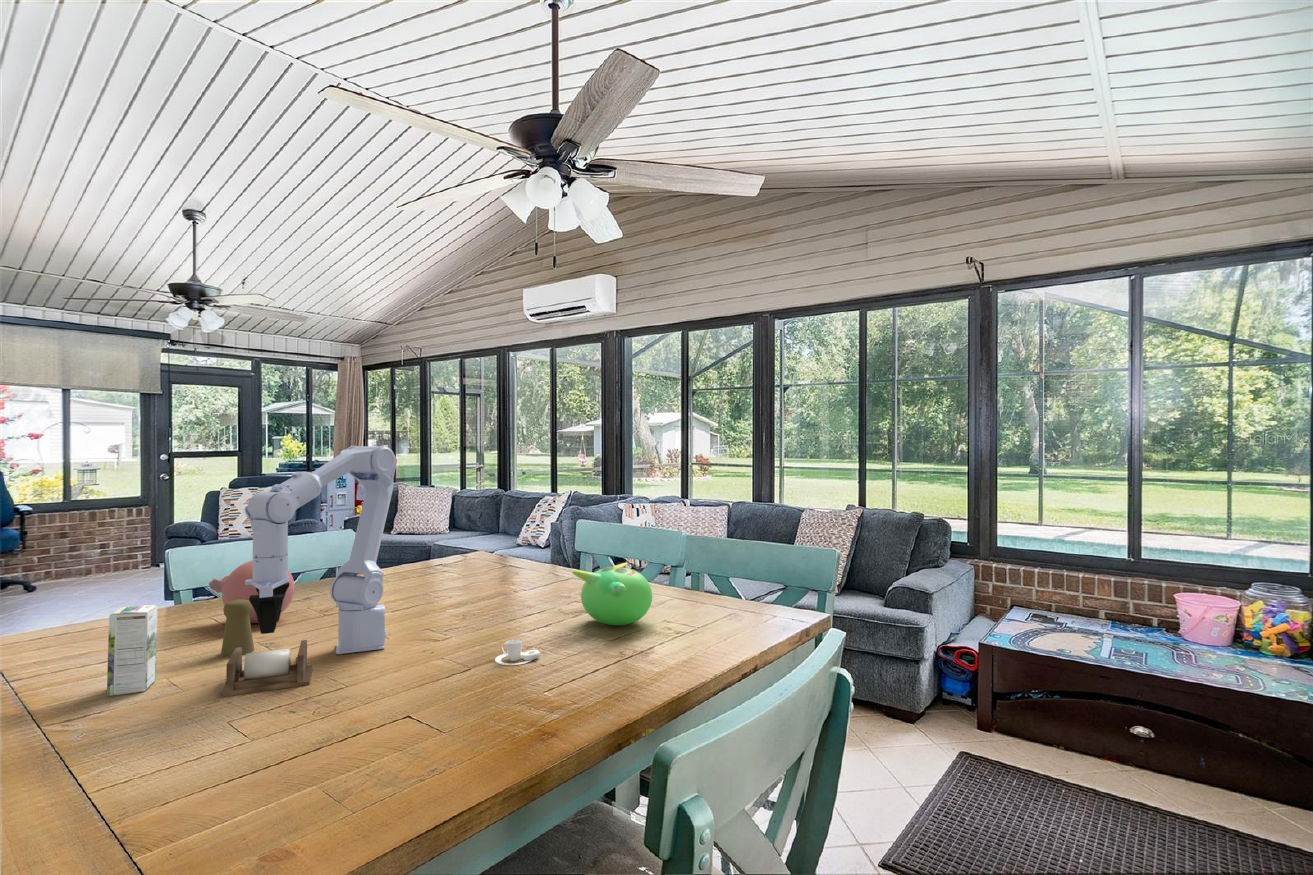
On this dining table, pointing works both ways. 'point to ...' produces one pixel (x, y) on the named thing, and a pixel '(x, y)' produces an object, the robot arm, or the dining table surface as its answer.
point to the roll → (267, 664)
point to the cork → (237, 628)
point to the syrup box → (132, 649)
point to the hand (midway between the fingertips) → (270, 627)
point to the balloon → (245, 587)
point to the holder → (238, 685)
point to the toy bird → (615, 594)
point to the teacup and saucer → (516, 653)
